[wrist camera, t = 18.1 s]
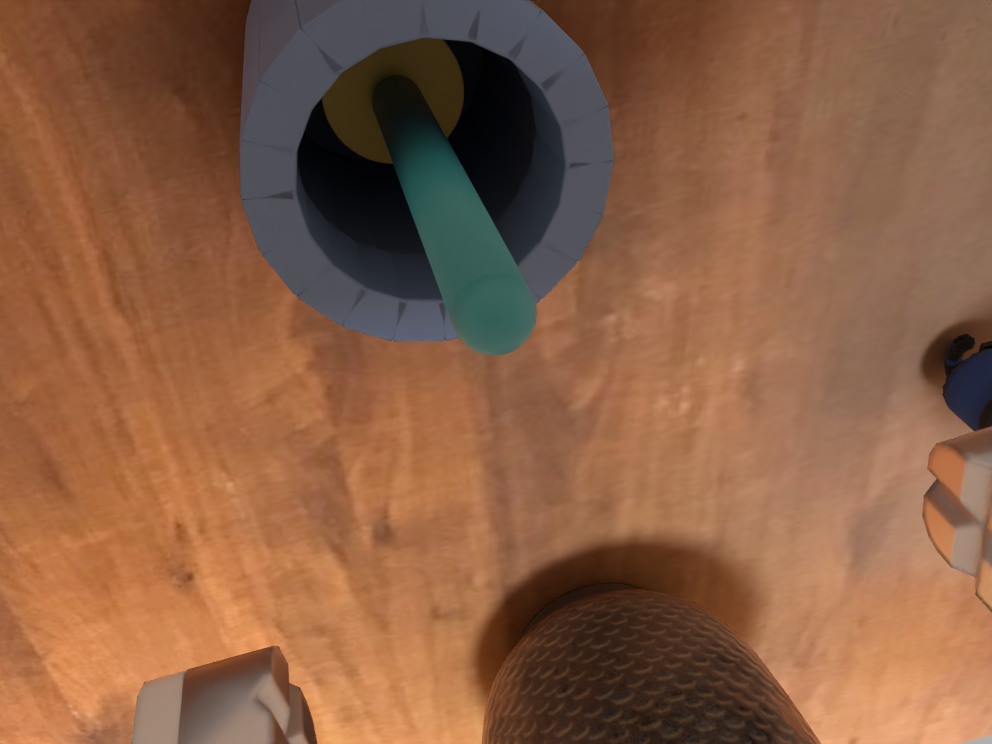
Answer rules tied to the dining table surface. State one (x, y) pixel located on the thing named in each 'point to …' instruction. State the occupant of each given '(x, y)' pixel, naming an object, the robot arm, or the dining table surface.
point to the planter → (636, 677)
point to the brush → (435, 184)
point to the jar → (374, 185)
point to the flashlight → (969, 382)
